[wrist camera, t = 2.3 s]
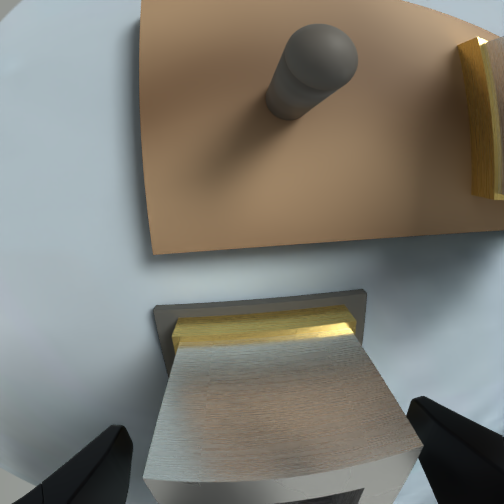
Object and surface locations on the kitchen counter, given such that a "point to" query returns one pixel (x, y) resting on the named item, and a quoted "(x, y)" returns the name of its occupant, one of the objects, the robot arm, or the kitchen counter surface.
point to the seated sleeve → (485, 113)
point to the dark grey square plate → (170, 314)
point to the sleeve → (277, 415)
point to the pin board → (304, 123)
